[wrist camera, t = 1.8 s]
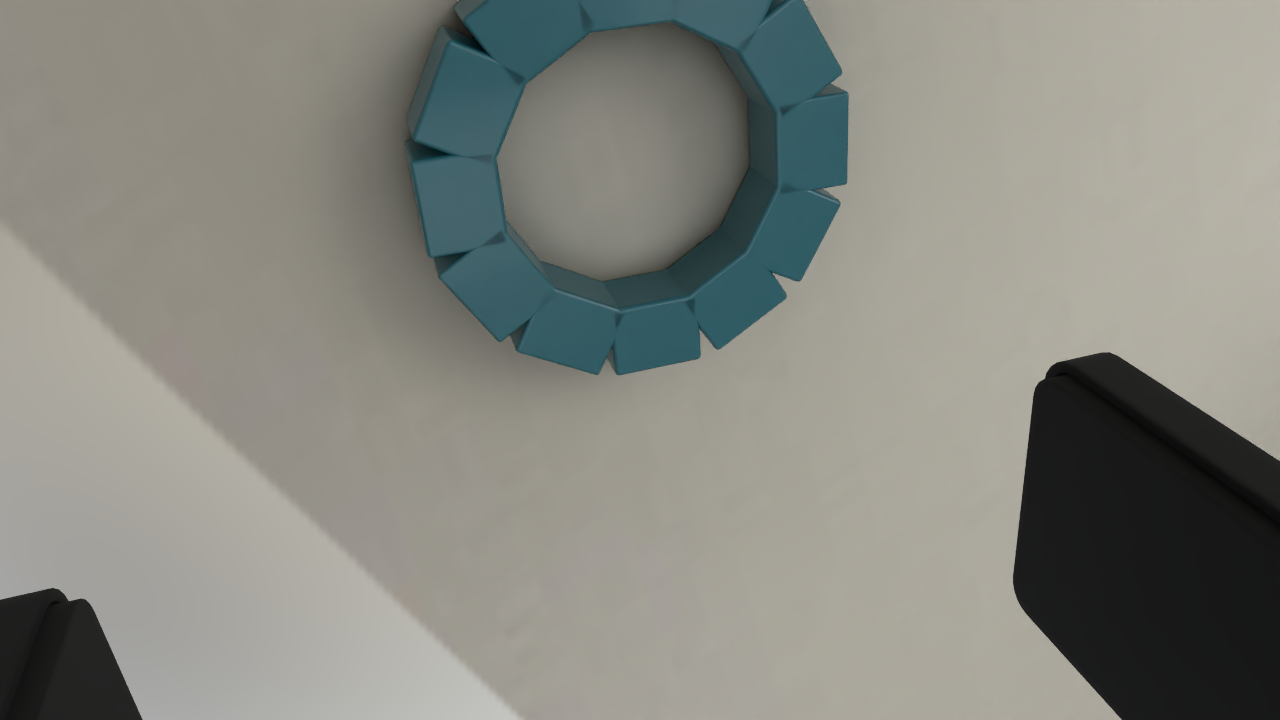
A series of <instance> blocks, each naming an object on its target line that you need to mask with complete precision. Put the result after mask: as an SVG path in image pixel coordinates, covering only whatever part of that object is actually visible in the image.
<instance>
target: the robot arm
mask: <svg viewBox="0 0 1280 720" xmlns="http://www.w3.org/2000/svg"><path fill="white" fill-rule="evenodd" d="M1013 585H1014V590H1015V594H1016V597H1017V600H1018V602H1019V604H1020V605H1021V607H1022V609H1023V610H1024V611H1025V613H1026V614H1027V615H1028V616H1029V617H1030V619H1031V620H1032V621H1033V622H1034V623H1035V624H1036V625H1037V626H1038V627H1039V629H1040V630H1041V631H1042V632H1043V633H1044V634H1045V635H1046V636H1047V637H1048V638H1049V640H1050V641H1051V642H1052V643H1053V644H1054V645H1055V646H1056V647H1057V648H1058V650H1059V651H1060V652H1061V653H1062V654H1063V655H1064V656H1065V657H1066V658H1067V659H1068V661H1069V662H1070V663H1071V664H1072V665H1073V666H1074V667H1075V668H1076V669H1077V671H1078V672H1079V673H1080V674H1081V675H1082V676H1083V677H1084V678H1085V679H1086V681H1087V682H1088V683H1089V684H1090V685H1091V686H1092V687H1093V688H1094V689H1095V690H1096V692H1097V693H1098V694H1099V695H1100V696H1101V697H1102V698H1103V699H1104V700H1105V702H1106V703H1107V704H1108V705H1109V706H1110V707H1111V708H1112V709H1113V710H1114V711H1115V713H1116V714H1117V715H1118V716H1119V717H1120V718H1121V719H1122V720H1280V461H1279V460H1277V459H1276V458H1274V457H1272V456H1271V455H1269V454H1268V453H1266V452H1265V451H1263V450H1262V449H1260V448H1259V447H1257V446H1256V445H1254V444H1252V443H1251V442H1249V441H1248V440H1246V439H1245V438H1243V437H1242V436H1240V435H1239V434H1237V433H1236V432H1234V431H1232V430H1231V429H1229V428H1228V427H1226V426H1225V425H1223V424H1222V423H1220V422H1219V421H1217V420H1216V419H1214V418H1212V417H1211V416H1209V415H1208V414H1206V413H1205V412H1203V411H1202V410H1200V409H1199V408H1197V407H1196V406H1194V405H1192V404H1191V403H1189V402H1188V401H1186V400H1185V399H1183V398H1182V397H1180V396H1179V395H1177V394H1176V393H1174V392H1172V391H1171V390H1169V389H1168V388H1166V387H1165V386H1163V385H1162V384H1160V383H1159V382H1157V381H1156V380H1154V379H1152V378H1151V377H1149V376H1148V375H1146V374H1145V373H1143V372H1142V371H1140V370H1139V369H1137V368H1136V367H1134V366H1132V365H1131V364H1129V363H1128V362H1126V361H1125V360H1123V359H1122V358H1120V357H1119V356H1117V355H1114V354H1112V353H1110V352H1108V353H1098V354H1093V355H1089V356H1084V357H1080V358H1075V359H1071V360H1066V361H1062V362H1058V363H1056V364H1054V365H1052V366H1051V367H1050V369H1049V370H1048V372H1047V373H1046V377H1045V379H1044V380H1042V381H1040V382H1039V383H1038V385H1037V386H1036V388H1035V392H1034V396H1033V405H1032V414H1031V423H1030V432H1029V441H1028V449H1027V458H1026V467H1025V476H1024V485H1023V494H1022V503H1021V511H1020V520H1019V529H1018V538H1017V547H1016V556H1015V564H1014V573H1013ZM0 720H142V718H141V715H140V713H139V711H138V709H137V706H136V704H135V702H134V700H133V698H132V695H131V693H130V691H129V688H128V686H127V684H126V682H125V680H124V677H123V675H122V673H121V671H120V668H119V666H118V664H117V662H116V659H115V657H114V655H113V653H112V650H111V648H110V646H109V644H108V641H107V639H106V637H105V635H104V632H103V630H102V628H101V626H100V623H99V621H98V619H97V617H96V614H95V612H94V610H93V608H92V607H91V605H90V604H89V603H88V602H87V601H86V600H85V599H78V600H73V601H68V599H67V598H66V596H65V595H64V594H63V593H62V592H61V591H60V590H58V589H54V588H51V589H46V590H42V591H38V592H33V593H28V594H24V595H19V596H15V597H11V598H6V599H2V600H0Z"/></svg>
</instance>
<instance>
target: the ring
mask: <svg viewBox="0 0 1280 720" xmlns="http://www.w3.org/2000/svg"><path fill="white" fill-rule="evenodd" d="M454 11H455V12H456V14H457V15H458V17H459V18H460V19H461V21H462V22H463V23H464V25H465V26H466V27H467V29H468V30H469V31H470V32H471V34H472V35H473V36H474V38H475V39H473V38H471V37H469V36H466V35H464V34H461V33H459V32H457V31H454V30H452V29H449V28H447V27H445V26H440V28H439V29H438V31H437V34H436V36H435V39H434V42H433V45H432V47H431V50H430V53H429V56H428V59H427V61H426V64H425V67H424V70H423V72H422V75H421V78H420V81H419V84H418V86H417V89H416V92H415V95H414V97H413V100H412V103H411V106H410V108H409V111H408V114H407V117H406V118H407V123H408V127H409V130H410V133H411V137H412V139H410V140H407V141H405V144H404V146H405V151H406V156H407V161H408V166H409V171H410V176H411V181H412V186H413V191H414V196H415V201H416V206H417V211H418V216H419V221H420V226H421V231H422V235H423V239H424V243H425V247H426V251H427V255H428V256H429V258H434V262H435V266H436V270H437V273H438V277H439V279H440V280H441V281H442V282H443V283H444V284H445V285H446V286H447V287H448V288H449V289H450V290H451V291H452V293H453V294H454V295H455V296H456V297H457V298H458V299H459V300H460V301H461V302H462V303H463V304H464V305H465V306H466V308H467V309H468V310H469V311H470V312H471V313H472V314H473V315H474V316H475V317H476V318H477V319H478V320H479V321H480V322H481V324H482V325H483V326H484V327H485V328H486V329H487V330H488V331H489V332H490V333H491V334H492V335H493V336H494V337H495V339H496V340H497V341H499V342H501V341H502V340H504V339H505V338H506V337H507V336H509V335H510V336H511V339H512V342H513V344H514V347H515V350H516V351H517V352H519V353H523V354H526V355H530V356H533V357H536V358H540V359H543V360H547V361H550V362H554V363H557V364H561V365H564V366H567V367H571V368H574V369H578V370H581V371H585V372H588V373H592V374H595V375H598V374H599V373H600V371H601V368H602V366H603V364H604V362H605V360H606V358H607V359H608V360H609V362H610V364H611V366H612V368H613V370H614V371H615V373H616V374H617V375H623V374H628V373H633V372H638V371H642V370H647V369H652V368H657V367H661V366H666V365H671V364H676V363H681V362H685V361H690V360H695V359H698V358H700V356H701V350H700V333H699V328H700V330H701V331H702V332H703V333H704V335H705V336H706V337H707V339H708V340H709V341H710V342H711V344H712V345H713V346H714V348H716V349H721V348H722V347H723V346H725V345H726V344H727V343H729V342H730V341H731V340H732V339H734V338H735V337H736V336H738V335H739V334H740V333H742V332H743V331H744V330H746V329H747V328H748V327H749V326H751V325H752V324H753V323H755V322H756V321H757V320H759V319H760V318H761V317H762V316H764V315H765V314H766V313H768V312H769V311H770V310H772V309H773V308H774V307H776V306H777V305H778V304H779V303H781V302H782V301H783V300H785V299H786V297H787V295H786V292H785V291H784V290H783V288H782V287H781V285H780V284H779V282H778V281H777V279H776V278H775V277H774V275H773V274H772V273H775V274H778V275H780V276H783V277H786V278H788V279H791V280H794V281H801V280H802V278H803V276H804V274H805V272H806V270H807V268H808V266H809V264H810V262H811V260H812V259H813V257H814V255H815V253H816V251H817V249H818V247H819V245H820V243H821V241H822V239H823V237H824V236H825V234H826V232H827V230H828V228H829V226H830V224H831V222H832V220H833V218H834V216H835V214H836V213H837V211H838V209H839V207H840V201H839V200H838V199H836V198H835V197H834V196H832V195H831V194H829V193H828V192H827V191H825V190H824V189H822V188H828V187H834V186H839V185H845V184H846V183H847V156H848V97H849V95H848V92H846V91H844V90H842V89H840V88H838V87H836V86H834V85H832V84H830V83H831V82H833V81H834V80H835V79H836V78H838V77H839V76H840V75H841V74H842V70H841V67H840V66H839V64H838V62H837V60H836V58H835V57H834V55H833V53H832V51H831V49H830V48H829V46H828V44H827V42H826V41H825V39H824V37H823V35H822V33H821V32H820V30H819V28H818V26H817V24H816V23H815V21H814V19H813V17H812V15H811V14H810V12H809V10H808V8H807V6H806V5H805V3H804V1H803V0H460V1H459V2H458V3H457V4H455V6H454ZM664 22H671V23H673V24H675V25H677V26H680V27H682V28H684V29H686V30H688V31H690V32H692V33H695V34H697V35H699V36H701V37H703V38H705V39H708V40H710V41H712V42H714V44H715V45H716V47H717V49H718V50H719V52H720V53H721V55H722V57H723V58H724V60H725V61H726V63H727V65H728V66H729V68H730V69H731V71H732V73H733V74H734V76H735V77H736V79H737V80H738V82H739V84H740V85H741V87H742V88H743V90H744V92H745V93H746V95H747V96H748V114H749V147H750V168H749V170H748V172H747V174H746V176H745V178H744V180H743V183H742V185H741V187H740V189H739V191H738V193H737V195H736V197H735V199H734V201H733V203H732V205H731V207H730V209H729V211H728V214H727V216H726V218H725V220H724V222H723V224H722V226H721V228H719V229H718V230H717V231H716V232H714V233H713V234H712V235H710V236H709V237H708V238H707V239H705V240H704V241H703V242H701V243H700V244H699V245H698V246H696V247H695V248H694V249H692V250H691V251H690V252H689V253H687V254H686V255H685V256H683V257H682V258H681V259H680V260H678V261H677V262H676V263H674V264H673V265H672V266H671V267H669V268H668V269H667V270H662V271H656V272H651V273H646V274H641V275H635V276H630V277H625V278H620V279H614V280H609V281H604V282H602V281H599V280H596V279H593V278H590V277H587V276H584V275H581V274H578V273H575V272H572V271H569V270H566V269H563V268H560V267H557V266H554V265H551V264H548V263H545V262H542V261H540V260H539V258H538V257H537V256H536V255H535V254H534V252H533V251H532V250H531V249H530V248H529V247H528V245H527V244H526V243H525V242H524V241H523V240H522V238H521V237H520V236H519V235H518V234H517V232H516V231H515V230H514V229H513V228H512V227H511V225H510V224H509V223H508V222H507V221H506V217H505V210H504V204H503V197H502V191H501V185H500V178H499V172H498V165H497V156H498V154H499V151H500V149H501V146H502V144H503V141H504V139H505V136H506V134H507V131H508V129H509V126H510V124H511V121H512V119H513V116H514V114H515V111H516V109H517V106H518V103H519V101H520V98H521V96H522V93H523V91H524V88H525V86H526V84H527V83H528V82H529V81H531V80H532V79H533V78H534V77H536V76H537V75H538V74H539V73H541V72H542V71H543V70H544V69H546V68H547V67H548V66H549V65H551V64H552V63H553V62H554V61H556V60H557V59H558V58H559V57H561V56H562V55H563V54H564V53H566V52H567V51H568V50H569V49H571V48H572V47H573V46H574V45H576V44H577V43H578V42H579V41H581V40H582V39H583V38H584V37H586V36H587V35H588V34H589V33H593V32H600V31H607V30H614V29H621V28H628V27H636V26H643V25H650V24H657V23H664Z"/></svg>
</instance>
